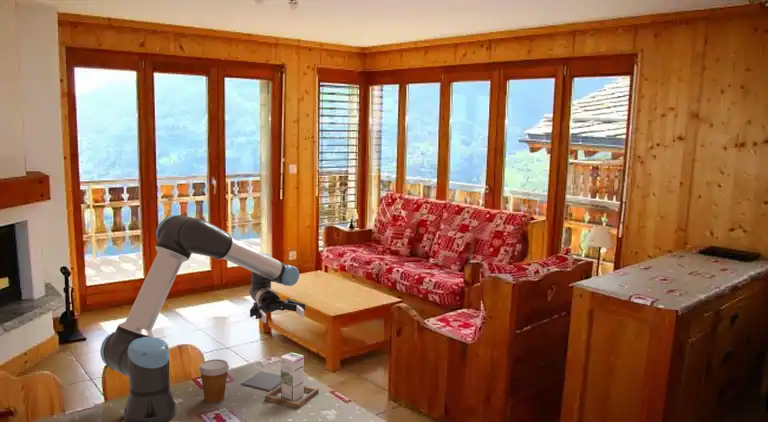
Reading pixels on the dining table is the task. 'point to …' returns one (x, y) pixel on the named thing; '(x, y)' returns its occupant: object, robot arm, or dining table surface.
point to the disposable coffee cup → (214, 379)
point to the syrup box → (292, 376)
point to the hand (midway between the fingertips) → (284, 316)
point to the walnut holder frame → (273, 399)
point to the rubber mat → (263, 381)
